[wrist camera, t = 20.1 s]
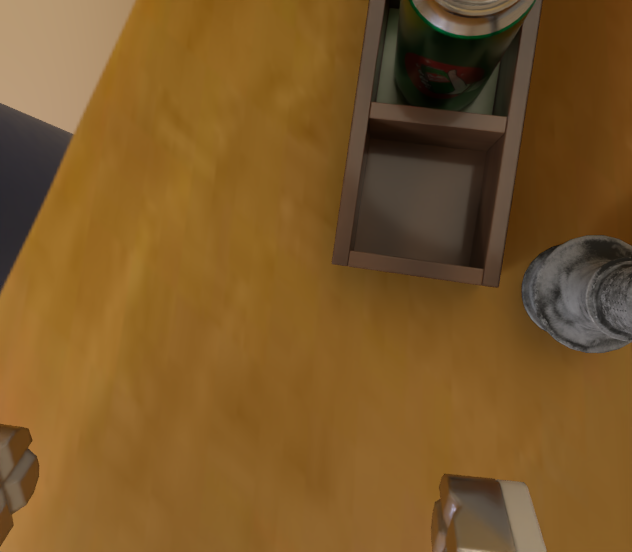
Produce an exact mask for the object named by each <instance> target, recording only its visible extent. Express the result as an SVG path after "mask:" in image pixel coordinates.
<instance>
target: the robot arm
mask: <svg viewBox="0 0 632 552" xmlns="http://www.w3.org/2000/svg"><path fill="white" fill-rule="evenodd" d="M31 442H32V438H31V435H30V432H29V429H28V428H24V427H18V426H11V425H4V424H0V546H1V545H2V543H3V541H4V540H5V538H6V537H7V535H8V533H9V532H10V530H11V529H12V527H13V518H12V514H13V513H15V512H16V511H18V510H19V509H21V508H22V507H24V506H25V505H26V504H27V503H28V501H29V499H30V498H31V496H32V494H33V493H34V490H35V487H36V484H37V481H38V477H39V463H38V459H37V456H36V455H35V454H34V453H32V452H31V451H30V450H29V449H28V446H29V445H30V444H31ZM439 490H440V499H439V500H438V501H436V502H435V505H434V509H433V514H432V524H431V542H432V552H547V551H546V547H545V544H544V540H543V537H542V534H541V530H540V527H539V524H538V520H537V517H536V513H535V510H534V507H533V503H532V500H531V497H530V493H529V490H528V487H527V486H526V484H525V483H524V482H516V481H506V480H495V479H492V478H482V477H472V476H462V475H452V474H444V475H443V476H442V478H441V482H440V485H439Z"/></svg>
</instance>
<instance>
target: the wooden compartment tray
mask: <svg viewBox="0 0 632 552" xmlns="http://www.w3.org/2000/svg"><path fill="white" fill-rule="evenodd" d="M542 2H543V0H536V2H535V4H534V6H533V7H532V9H531V11H530V12H529V14H528V16H527V17H526V19H525V20H524V22H523V24H522V25H521V27H520V29H519V30H518V32H517V34H516V35H515V37H514V39H513V40H512V42H511V44H510V45H509V47H508V48H507V50H506V52H505V53H504V55H503V57H502V58H501V60H500V62H499V63H498V65H497V67H496V68H495V70H494V72H493V73H492V75H491V76H490V78H489V80H488V81H487V83H486V85H485V86H484V88H483V90H482V91H481V93H480V94H479V95H478V97H477V98H476V99H475V100H474V101H473V102H472V103H471V104H469V105H468V106H466V107H465V108H463V109H461V110H459V111H451V110H442V109H433V108H425V107H416V106H412V105H411V104H409V103H408V102H407V101H406V100H405V99H404V97H403V96H402V94H401V93H400V91H399V89H398V87H397V84H396V81H395V75H394V63H395V51H396V40H397V29H398V18H399V6H400V0H369V6H368V13H367V20H366V27H365V34H364V41H363V48H362V55H361V62H360V69H359V76H358V83H357V90H356V97H355V104H354V111H353V118H352V125H351V132H350V139H349V146H348V153H347V160H346V167H345V174H344V181H343V188H342V195H341V202H340V209H339V216H338V223H337V230H336V237H335V244H334V251H333V258H332V264H335V265H342V266H349V267H356V268H363V269H370V270H377V271H384V272H391V273H398V274H405V275H412V276H419V277H426V278H433V279H440V280H447V281H454V282H461V283H468V284H475V285H482V286H489V287H496V288H497V287H499V281H500V275H501V268H502V262H503V255H504V249H505V242H506V236H507V229H508V223H509V216H510V210H511V203H512V197H513V190H514V184H515V177H516V171H517V164H518V158H519V151H520V145H521V139H522V132H523V126H524V119H525V113H526V106H527V100H528V93H529V87H530V80H531V74H532V67H533V61H534V54H535V48H536V41H537V35H538V28H539V22H540V15H541V9H542Z"/></svg>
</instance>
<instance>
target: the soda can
mask: <svg viewBox="0 0 632 552" xmlns="http://www.w3.org/2000/svg"><path fill="white" fill-rule="evenodd" d="M535 2H536V0H400V6H399V18H398V29H397V40H396V51H395V63H394V75H395V81H396V84H397V87H398V89H399V91H400V93H401V94H402V96H403V97H404V99H405V100H406V101H407V102H408V103H409V104H411V105H412V106H416V107H425V108H433V109H442V110H451V111H459V110H461V109H463V108H465V107H466V106H468V105H469V104H471V103H472V102H473V101H474V100H475V99H476V98H477V97H478V95H479V94H480V93H481V91H482V90H483V88H484V86H485V85H486V83H487V81H488V80H489V78H490V76H491V75H492V73H493V72H494V70H495V68H496V67H497V65H498V63H499V62H500V60H501V58H502V57H503V55H504V53H505V52H506V50H507V48H508V47H509V45H510V44H511V42H512V40H513V39H514V37H515V35H516V34H517V32H518V30H519V29H520V27H521V25H522V24H523V22H524V20H525V19H526V17H527V16H528V14H529V12H530V11H531V9H532V7H533V6H534V4H535Z"/></svg>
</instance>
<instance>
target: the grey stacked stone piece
mask: <svg viewBox="0 0 632 552" xmlns="http://www.w3.org/2000/svg"><path fill="white" fill-rule="evenodd" d="M522 299H523V303H524V306H525V309H526V311H527V313H528V314H529V316H530V318H531V319H532V320H533V321H534V322H535V323H536V324H537V325H538V326H539V327H540V328H541V329H543V330H545V331H547V332H548V333H549V334H550V335H551V336H552V337H553V338H554V339H555V340H556V341H558V342H560V343H562V344H563V345H565V346H567V347H569V348H571V349H574V350H578V351H582V352H585V353H605V352H609V351H613V350H617V349H620V348H621V347H623V346H625V345H627V344H629V343H631V342H632V246H631V245H629V244H627V243H625V242H623V241H622V240H620V239H617V238H612V237H608V236H604V235H586V236H583V237H579V238H575V239H571V240H569V241H567V242H566V243H564V244H562V245H558V246H554V247H551V248H549V249H548V250H546V251H544V252H542V253H541V254H539V255H538V256H537V257H536V258H535V259H534V260H533V261H532V262H531V264H530V266H529V267H528V269H527V271H526V272H525V275H524V279H523V283H522Z"/></svg>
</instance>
